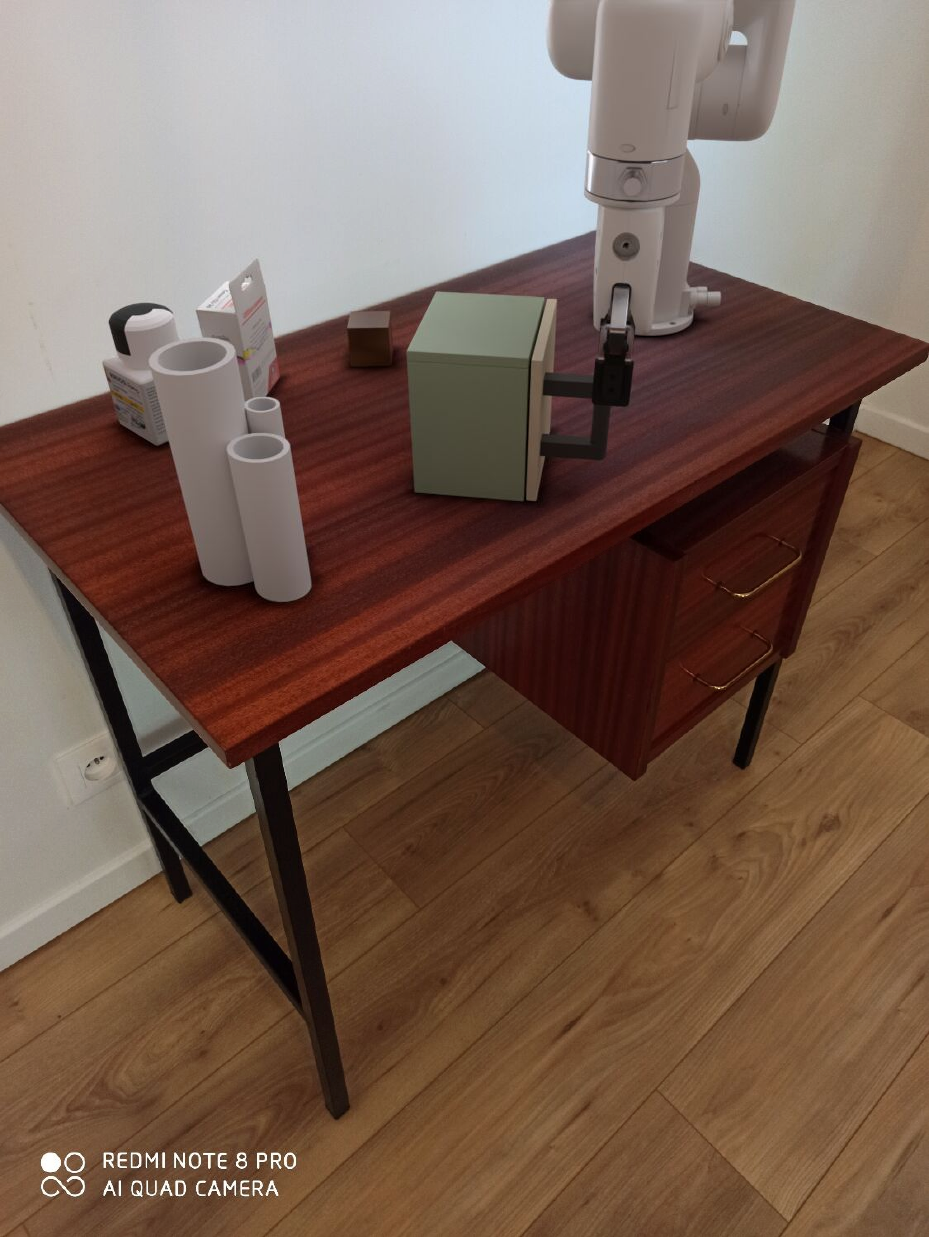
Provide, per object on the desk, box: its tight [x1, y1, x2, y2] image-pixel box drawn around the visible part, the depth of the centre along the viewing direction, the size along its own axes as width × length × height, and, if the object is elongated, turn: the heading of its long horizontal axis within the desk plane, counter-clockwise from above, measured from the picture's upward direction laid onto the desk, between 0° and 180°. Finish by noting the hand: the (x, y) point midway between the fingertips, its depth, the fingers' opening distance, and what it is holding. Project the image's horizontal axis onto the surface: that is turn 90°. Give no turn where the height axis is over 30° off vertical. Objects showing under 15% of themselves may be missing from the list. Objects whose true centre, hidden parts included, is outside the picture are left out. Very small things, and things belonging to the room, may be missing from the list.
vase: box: [149, 337, 312, 603], centre depth 76 cm, size 11×7×20 cm, turn 67°
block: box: [346, 310, 394, 368], centre depth 113 cm, size 5×5×5 cm
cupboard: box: [406, 291, 546, 502], centre depth 91 cm, size 11×14×15 cm
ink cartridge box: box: [195, 257, 281, 402], centre depth 103 cm, size 9×5×15 cm, turn 168°
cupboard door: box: [525, 298, 612, 502], centre depth 90 cm, size 7×14×15 cm, turn 170°
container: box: [101, 302, 180, 446], centre depth 98 cm, size 8×8×13 cm
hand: (612, 379), depth 82 cm, fingers open, 9 cm apart
